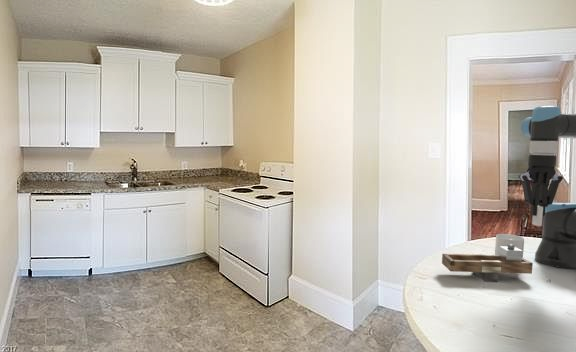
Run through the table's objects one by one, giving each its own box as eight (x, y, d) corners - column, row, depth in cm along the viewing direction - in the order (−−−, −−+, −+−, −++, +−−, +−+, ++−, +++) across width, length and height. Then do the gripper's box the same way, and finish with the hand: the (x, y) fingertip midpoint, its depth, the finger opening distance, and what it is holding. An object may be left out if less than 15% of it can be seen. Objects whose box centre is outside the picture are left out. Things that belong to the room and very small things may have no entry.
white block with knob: (513, 261, 127) (515, 243, 127) (521, 265, 123) (522, 247, 122) (498, 260, 127) (500, 243, 127) (505, 264, 123) (507, 246, 122)
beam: (516, 273, 130) (517, 254, 129) (532, 283, 121) (533, 263, 120) (441, 271, 131) (441, 252, 130) (450, 280, 122) (451, 261, 122)
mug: (517, 272, 131) (520, 241, 130) (490, 265, 137) (492, 236, 136) (527, 264, 139) (529, 235, 138) (501, 259, 146) (503, 231, 144)
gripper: (555, 154, 124) (549, 223, 127) (515, 153, 125) (510, 222, 127) (571, 155, 117) (564, 228, 119) (528, 154, 118) (523, 227, 120)
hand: (536, 225), depth 123 cm, fingers closed
